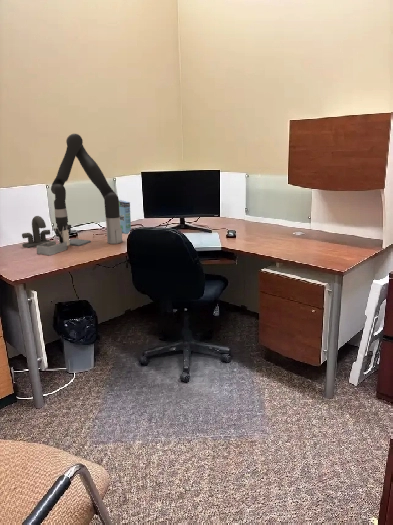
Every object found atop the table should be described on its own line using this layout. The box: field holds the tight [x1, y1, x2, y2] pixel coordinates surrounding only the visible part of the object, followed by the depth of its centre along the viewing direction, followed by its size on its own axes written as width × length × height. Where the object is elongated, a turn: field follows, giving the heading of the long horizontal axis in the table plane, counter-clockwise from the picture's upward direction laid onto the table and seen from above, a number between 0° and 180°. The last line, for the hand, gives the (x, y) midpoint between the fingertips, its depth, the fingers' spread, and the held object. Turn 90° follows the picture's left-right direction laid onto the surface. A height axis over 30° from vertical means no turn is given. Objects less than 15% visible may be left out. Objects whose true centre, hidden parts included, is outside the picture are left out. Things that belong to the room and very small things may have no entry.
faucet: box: [21, 215, 51, 249], centre depth 272 cm, size 18×16×20 cm
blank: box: [58, 230, 71, 247], centre depth 268 cm, size 5×4×10 cm
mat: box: [69, 238, 92, 247], centre depth 280 cm, size 14×12×1 cm
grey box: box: [35, 239, 68, 256], centre depth 260 cm, size 10×15×5 cm
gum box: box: [119, 199, 132, 235], centre depth 310 cm, size 20×5×23 cm, turn 39°
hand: (64, 241), depth 269 cm, fingers closed on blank, 4 cm apart
